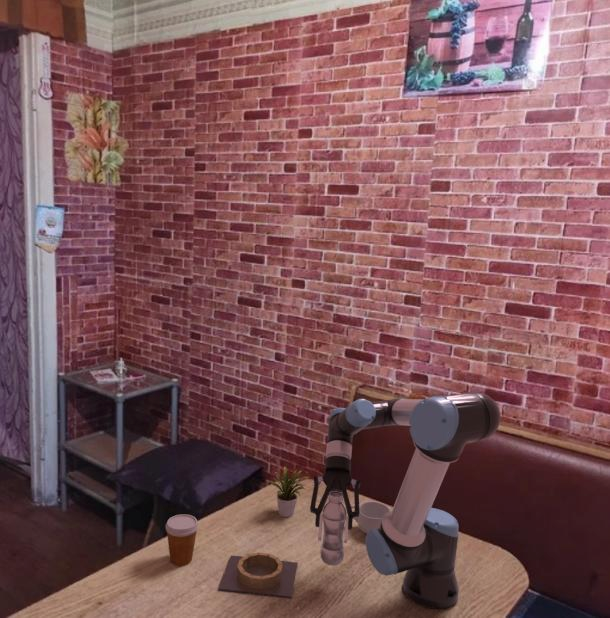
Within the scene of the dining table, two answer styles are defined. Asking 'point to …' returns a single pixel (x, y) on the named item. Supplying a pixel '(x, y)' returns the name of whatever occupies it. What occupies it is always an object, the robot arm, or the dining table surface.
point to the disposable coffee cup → (181, 538)
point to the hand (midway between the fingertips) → (332, 540)
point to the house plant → (288, 492)
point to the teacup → (370, 515)
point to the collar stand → (259, 575)
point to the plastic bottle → (333, 529)
